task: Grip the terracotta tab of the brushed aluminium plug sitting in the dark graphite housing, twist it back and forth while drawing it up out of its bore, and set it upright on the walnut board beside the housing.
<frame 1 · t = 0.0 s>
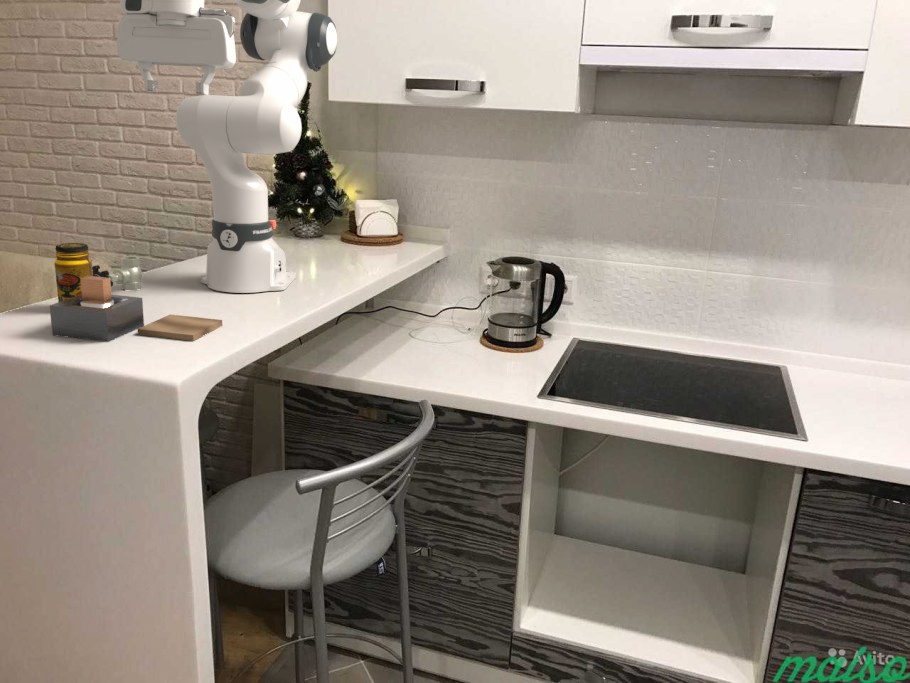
hand: (176, 93, 129), 39 cm above the worktop, tool pointing down, fingers open, 8 cm apart
condiment: (78, 309, 139), on the worktop
housing: (99, 330, 126), on the worktop
valve: (118, 294, 151), on the worktop
board: (181, 329, 129), on the worktop
plug: (97, 304, 125), in the housing
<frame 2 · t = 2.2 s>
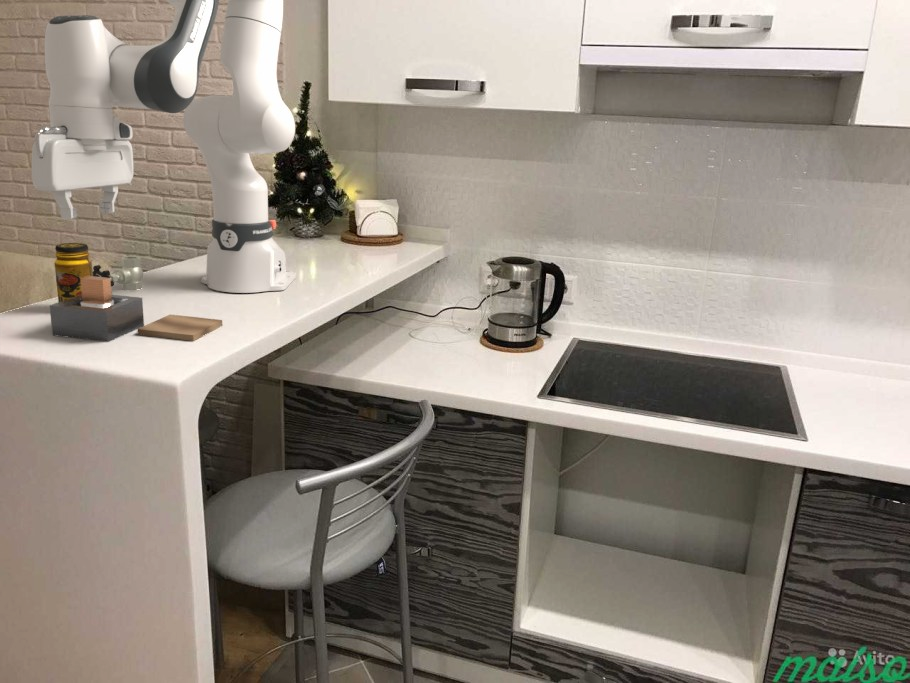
hand: (88, 216, 121), 19 cm above the worktop, tool pointing down, fingers open, 8 cm apart
nothing on the worktop moved.
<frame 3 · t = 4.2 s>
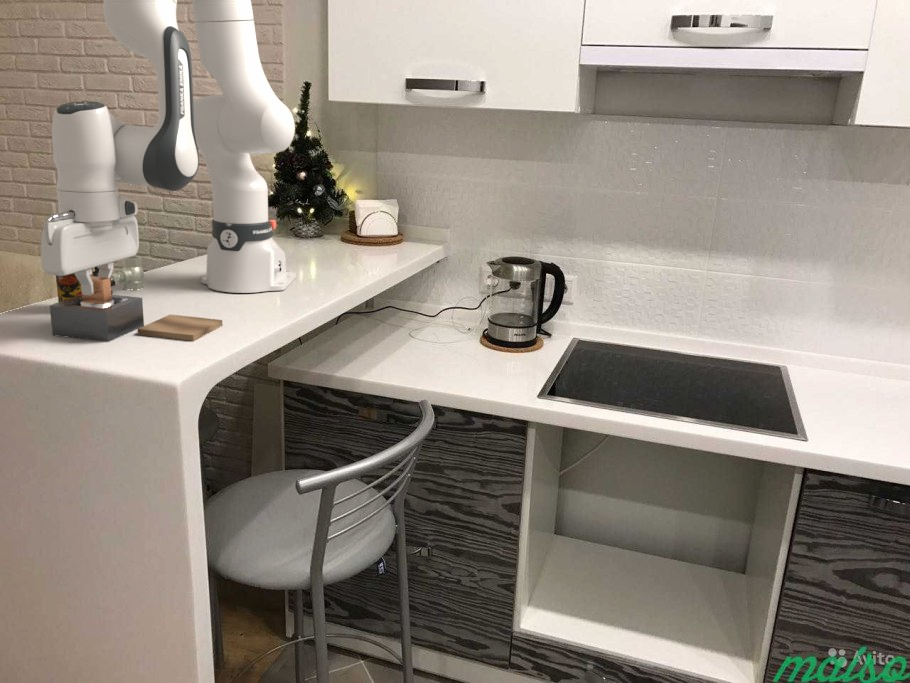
hand: (96, 292, 124), 7 cm above the worktop, tool pointing down, fingers closed on plug
plug: (97, 304, 125), in the housing, touching gripper
everything else where it was.
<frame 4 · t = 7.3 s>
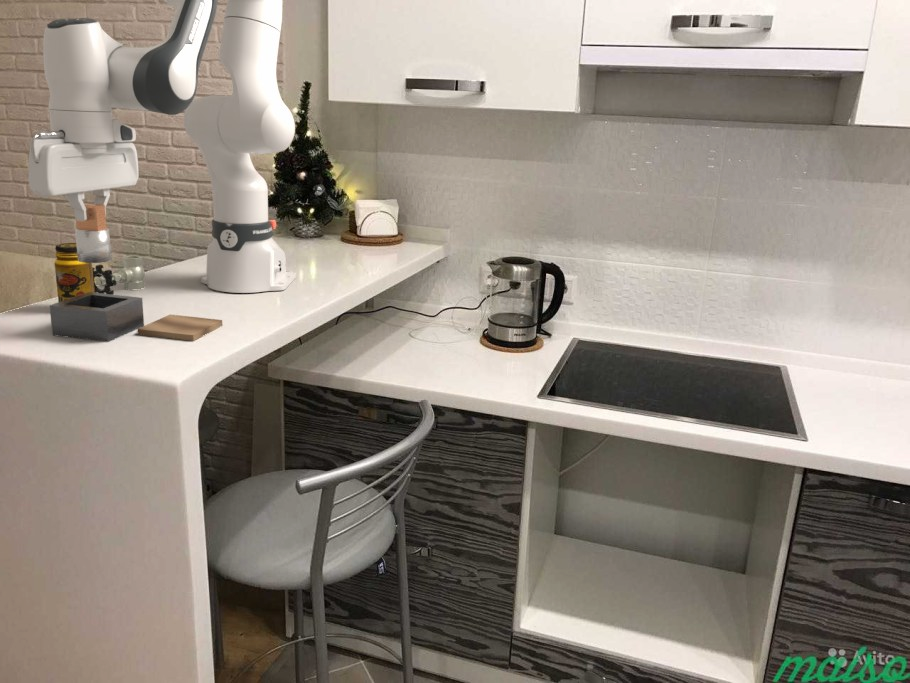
hand: (91, 219, 121), 19 cm above the worktop, tool pointing down, fingers closed on plug
plug: (92, 232, 122), point 16 cm above the worktop, touching gripper
everything else where it was.
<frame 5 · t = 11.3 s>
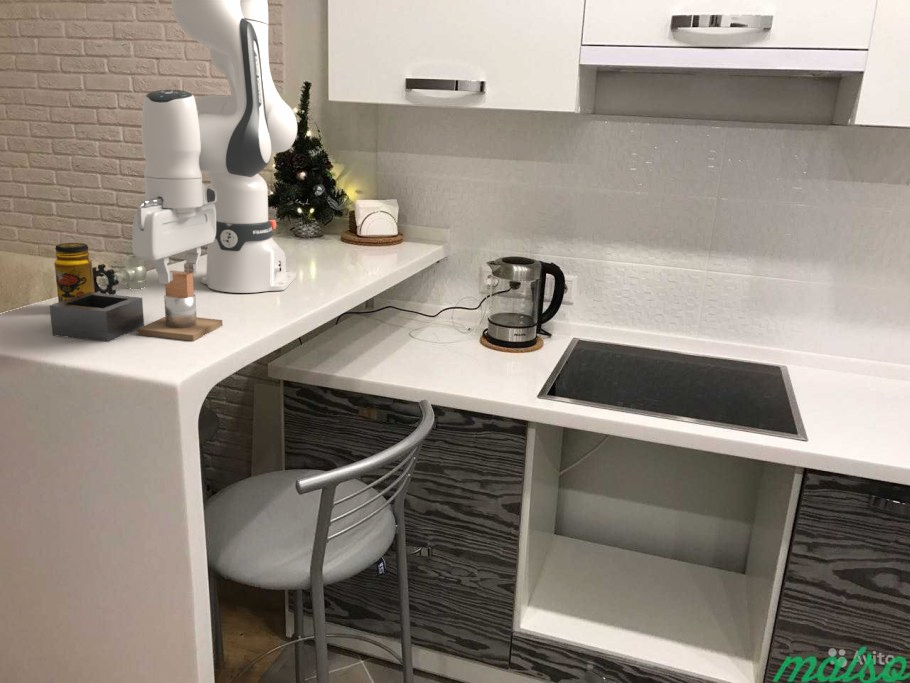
hand: (178, 278, 127), 9 cm above the worktop, tool pointing down, fingers open, 7 cm apart
plug: (180, 298, 128), on the board, point 6 cm above the worktop
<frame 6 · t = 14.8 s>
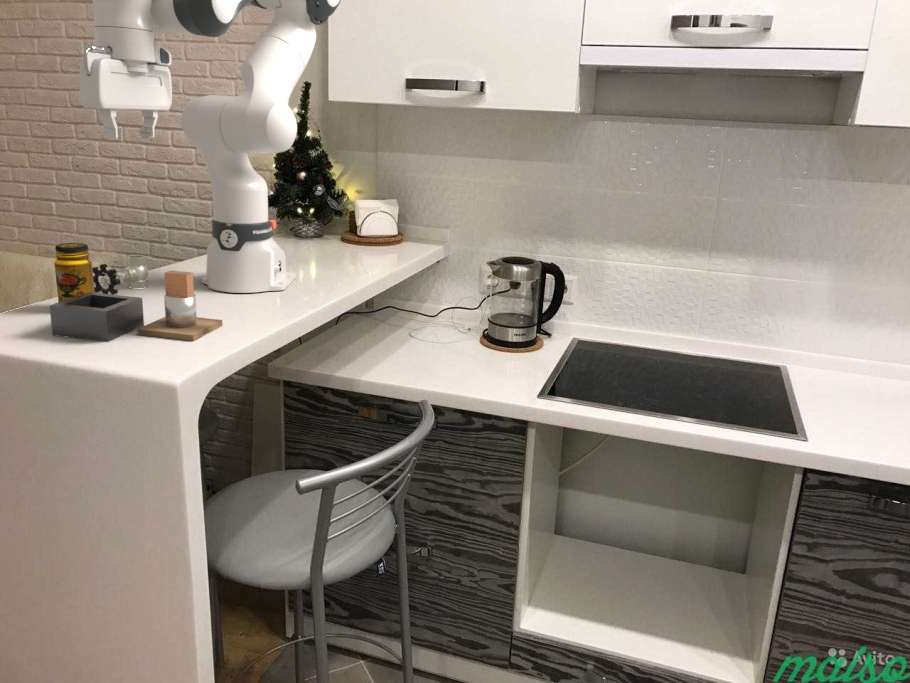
hand: (131, 139, 124), 31 cm above the worktop, tool pointing down, fingers open, 8 cm apart
at the end: plug inside the target area on the board (0.1 cm from its centre), point 5.5 cm above the board's base; plug tilted 0°; the gripper is holding nothing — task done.
